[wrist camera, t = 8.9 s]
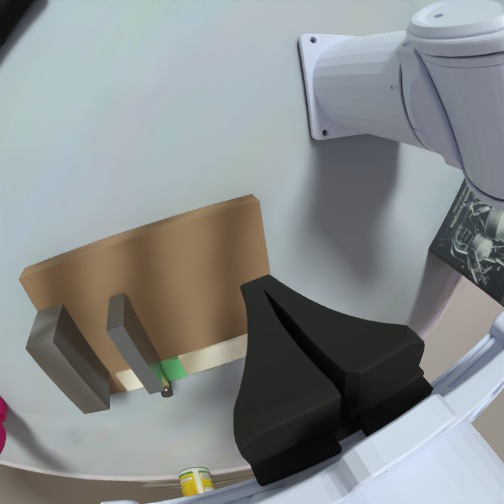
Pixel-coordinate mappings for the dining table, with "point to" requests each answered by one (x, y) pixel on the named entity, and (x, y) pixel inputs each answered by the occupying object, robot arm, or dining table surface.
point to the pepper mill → (0, 416)
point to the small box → (474, 242)
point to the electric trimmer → (11, 15)
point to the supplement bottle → (195, 481)
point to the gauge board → (148, 299)
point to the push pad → (135, 345)
